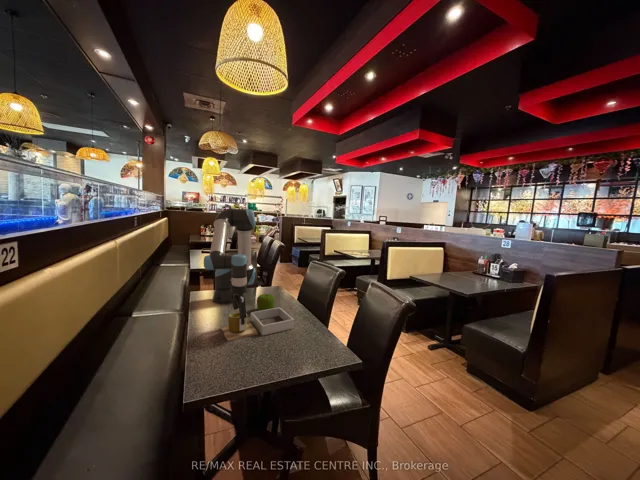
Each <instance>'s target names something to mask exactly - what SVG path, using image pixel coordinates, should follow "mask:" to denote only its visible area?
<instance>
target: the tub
mask: <svg viewBox="0 0 640 480" xmlns="http://www.w3.org/2000/svg"><path fill="white" fill-rule="evenodd" d="M275 317H279V318H281V320H282V321H281V320H280V321H278V322H272V323H271V322H270V323H267V324H263V322H261V320H266V319H271V318H275ZM250 322H251V324H252V325H253V326H254V328H255V329H256V330H257V332H258V333H259V334H260V335H261V336H267V335H271V334H275V333H280V332H283V331H288V330H292V329H295V319H294V318H293V317H292V316H291V315H290V314H289V313H288V312H286V311H285V310H284V309H283V308H281V306H280V307H279V306H277V307H274V308H273V309H267V310H262V311H260V310H257V311H256V310H255V311H252V312H250Z"/></svg>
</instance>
